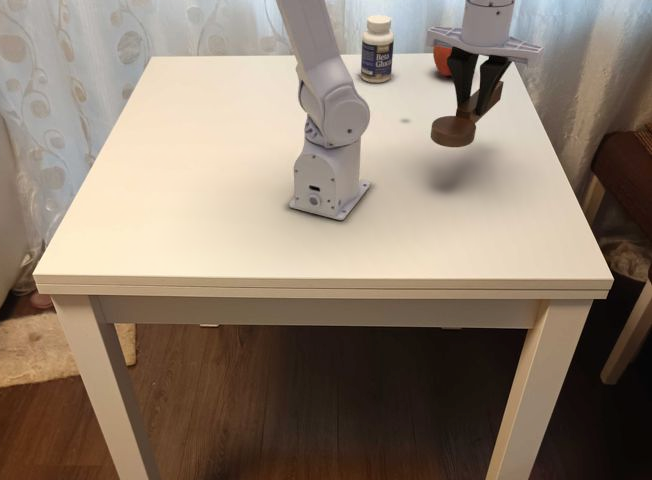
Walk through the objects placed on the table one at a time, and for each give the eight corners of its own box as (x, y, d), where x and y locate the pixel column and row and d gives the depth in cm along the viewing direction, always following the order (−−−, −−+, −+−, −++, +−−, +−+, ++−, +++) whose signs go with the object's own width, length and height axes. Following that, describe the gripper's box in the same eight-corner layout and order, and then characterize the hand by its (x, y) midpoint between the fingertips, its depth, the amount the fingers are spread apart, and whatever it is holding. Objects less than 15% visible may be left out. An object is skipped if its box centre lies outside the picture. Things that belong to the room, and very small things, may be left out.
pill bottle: (376, 86, 110) (379, 26, 104) (354, 77, 113) (356, 19, 106) (397, 77, 113) (401, 18, 106) (375, 68, 116) (378, 10, 109)
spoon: (475, 93, 91) (478, 75, 90) (512, 102, 89) (516, 84, 87) (422, 140, 82) (425, 121, 80) (462, 151, 80) (466, 132, 78)
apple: (464, 65, 116) (471, 18, 110) (478, 81, 111) (486, 33, 105) (425, 68, 115) (430, 21, 109) (437, 85, 110) (443, 37, 104)
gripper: (562, -1, 74) (535, 111, 84) (449, -20, 80) (436, 87, 90) (540, 17, 70) (515, 133, 80) (423, -4, 76) (412, 106, 86)
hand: (471, 110), depth 85 cm, fingers closed on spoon, 2 cm apart
